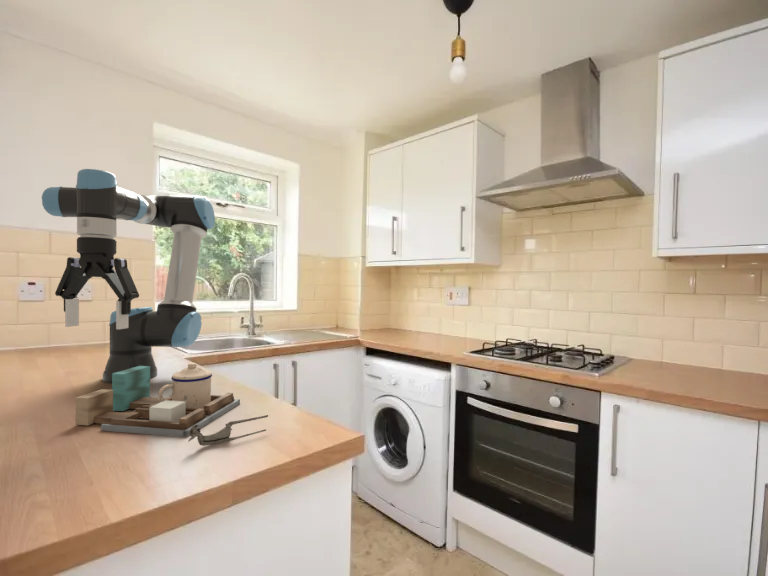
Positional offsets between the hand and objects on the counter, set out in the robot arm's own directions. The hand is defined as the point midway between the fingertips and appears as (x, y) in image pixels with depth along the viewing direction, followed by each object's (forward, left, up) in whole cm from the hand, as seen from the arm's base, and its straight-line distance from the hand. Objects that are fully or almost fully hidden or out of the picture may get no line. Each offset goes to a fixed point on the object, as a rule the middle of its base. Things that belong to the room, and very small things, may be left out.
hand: (97, 327), depth 92 cm
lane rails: (-3, +19, -21) cm, 28 cm away
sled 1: (+4, +19, -21) cm, 29 cm away
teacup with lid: (-6, +19, -21) cm, 29 cm away
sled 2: (-7, +19, -21) cm, 29 cm away
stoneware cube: (+4, +21, -21) cm, 30 cm away
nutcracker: (+8, +39, -21) cm, 45 cm away
